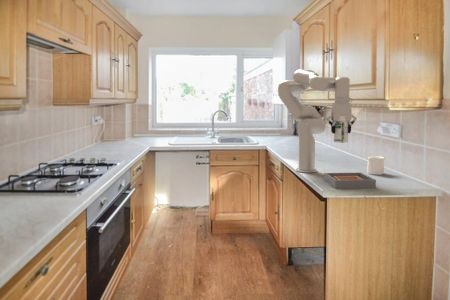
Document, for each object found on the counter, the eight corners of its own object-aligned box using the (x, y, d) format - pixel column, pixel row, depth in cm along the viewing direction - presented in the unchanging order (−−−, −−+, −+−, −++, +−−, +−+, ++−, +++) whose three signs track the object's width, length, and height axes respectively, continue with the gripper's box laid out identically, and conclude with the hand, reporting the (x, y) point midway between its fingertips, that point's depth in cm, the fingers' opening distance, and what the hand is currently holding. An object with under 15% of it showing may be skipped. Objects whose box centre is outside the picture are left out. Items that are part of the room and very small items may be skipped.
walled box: (324, 180, 220) (324, 172, 219) (360, 179, 220) (361, 172, 220) (335, 188, 200) (335, 180, 199) (375, 187, 201) (375, 179, 200)
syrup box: (333, 142, 223) (333, 115, 221) (338, 141, 227) (339, 115, 225) (342, 142, 219) (343, 115, 217) (348, 142, 223) (349, 115, 221)
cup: (370, 175, 234) (371, 158, 232) (363, 172, 244) (364, 155, 242) (386, 175, 234) (387, 158, 233) (379, 171, 244) (380, 155, 243)
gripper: (355, 100, 224) (354, 132, 226) (323, 100, 223) (323, 132, 225) (360, 100, 217) (359, 133, 219) (327, 100, 216) (327, 133, 218)
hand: (341, 132), depth 222 cm, fingers closed on syrup box, 7 cm apart
